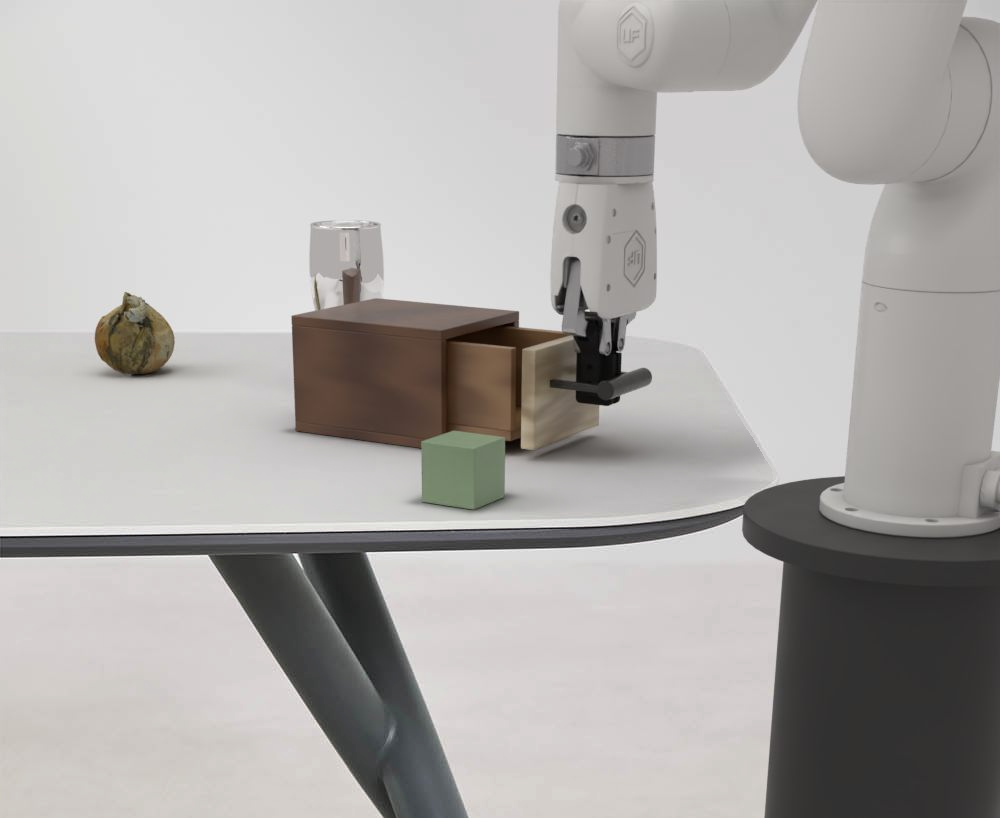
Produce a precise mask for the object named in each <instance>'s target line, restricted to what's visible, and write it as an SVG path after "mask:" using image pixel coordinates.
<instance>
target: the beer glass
mask: <svg viewBox="0 0 1000 818" xmlns="http://www.w3.org/2000/svg"><path fill="white" fill-rule="evenodd" d="M309 226H310V232H309V233H310V234H309V255H308V257H309V258H308V259H309V260H308V261H309V262H308V263H309V265H308V266H309V270H308V271H309V284H310V292H311V299H312V304H313V309H314V311H316V310H321V309H326V308H331V307H336V306H341V305H346V304H350V303H355V302H360V301H365V300H370V299H375V298H379V299H384V298H383V297H384V288H385V287H384V286H385V258H384V247H383V236H382V224H381V222H378V221H372V220H371V221H370V220H358V219H357V220H356V219H355V220H353V219H351V220H349V219H346V220H344V219H342V220H341V219H338V220H321V221H320V220H319V221H314V222H313V221H312V222H311V223H310V224H309Z"/></svg>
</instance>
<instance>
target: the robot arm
mask: <svg viewBox="0 0 1000 818" xmlns="http://www.w3.org/2000/svg"><path fill="white" fill-rule="evenodd" d="M967 3H968V0H559V3H558V11H557V12H558V16H557V63H556V65H557V67H556V70H557V71H556V116H555V118H556V120H555V134H556V135H555V167H554V168H555V170H554V171H555V172H554V176H555V177H554V181H556V182H558V185H557V193H556V199H555V206H554V207H555V209H554V217H553V226H552V227H553V228H552V241H551V252H550V253H551V256H550V258H551V259H550V302H551V306H552V309H553V310H554V311H555V312H556V313H557V314H558V315H560V316H562V320H561V321H562V322H561V331H562V332H563V333H564V334H567V335H571V336H573V340H574V351H575V352H576V353H577V360H576V382H584V383H593V384H599V383H600V382H601V381H604V380H607V379H610V378H613V377H616V376H619V375H621V371H622V357H623V355H622V352H623V351H624V349H625V344H626V336H627V335H626V334H627V326H628V325H629V324H630V323H631V322H632V321H633V320H634V319H636V316H637V312H641V311H644V310H646V309H649V307H651V306H652V305H653V304H654V302H655V300H656V298H657V286H658V285H657V281H658V280H657V279H658V278H657V277H658V242H657V241H658V238H657V235H658V233H657V212H656V211H657V210H656V200H655V191H654V190H655V189H654V184H653V182H654V180H655V179H654V177H655V156H656V155H655V154H656V151H655V150H656V136H655V135H656V130H657V128H656V127H657V106H658V105H657V104H658V103H657V101H658V93H666V94H667V93H668V94H669V93H671V94H672V93H694V92H733V91H744V90H749V89H751V88H754V87H757V86H759V85H760V84H762V83H763V82H765V81H766V80H767V79H768V78H770V77H771V76H772V75H773V74H774V73H775V72H776V71H777V70H778V69H779V67H780V66H781V65H782V64H783V62H784V61H785V60H786V59H787V57H788V56H789V54H790V52H791V51H792V49H793V48H794V46H795V44H796V43H797V41H798V39H799V37H800V35H801V33H802V32H803V30H804V28H805V26H806V24H807V22H808V20H809V18H810V17H811V14H812V12H813V11H814V8H815V7H816V8H815V13H814V17H813V21H812V24H811V28H810V32H809V37H808V41H807V44H806V47H805V48H806V49H805V52H804V57H803V62H802V66H801V71H800V76H799V82H798V90H797V91H798V92H797V122H798V127H799V132H800V136H801V139H802V142H803V145H804V147H805V149H806V151H807V153H808V154H809V156H810V158H811V159H812V161H813V162H814V163H815V164H816V165H817V167H818V168H820V169H821V170H822V171H824V173H826V174H827V175H828V176H830V177H832V178H834V179H837V180H839V181H842V182H845V183H847V184H848V183H849V184H854V185H868V186H869V185H871V186H872V185H883V188H882V191H881V193H880V195H879V198H878V201H877V203H876V206H875V209H874V211H873V215H872V218H871V220H870V221H871V222H870V225H869V229H868V233H867V237H866V242H865V249H864V255H863V256H864V257H863V265H862V276H861V277H862V278H861V287H860V298H859V307H858V308H859V310H858V318H857V319H858V320H857V322H858V323H857V331H856V342H855V343H856V344H855V353H854V354H855V355H854V366H853V377H852V390H851V401H850V413H849V424H848V436H847V447H846V449H847V450H846V459H845V471H844V476H845V481H844V483H842V484H837V485H834V486H832V487H829V488H827V489H826V490H825V491H823V492H822V493H821V495H820V506H819V510H820V512H821V513H822V514H823V516H825V517H826V518H828V519H829V520H831V521H833V522H835V523H837V524H840V525H843V526H846V527H849V528H853V529H857V530H861V531H865V532H871V533H877V534H882V535H891V536H899V537H912V538H958V537H969V536H975V535H981V534H985V533H989V532H992V531H995V530H997V529H999V528H1000V451H996V450H992V447H993V439H994V438H993V437H994V429H995V423H996V422H995V421H996V413H997V406H998V405H997V403H998V395H999V389H1000V388H999V387H1000V22H998V21H996V20H992V19H988V18H983V17H977V16H964V13H965V9H966V6H967ZM576 401H577V402H578V403H585V404H593V405H599V406H603V407H609V406H611V405H615V404H618V403H619V402H621V395H620V396H618V397H615V398H612V399H609V400H603V399H601V398H600V397H599V396H598V394H597V393H594V392H585V391H576Z"/></svg>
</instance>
